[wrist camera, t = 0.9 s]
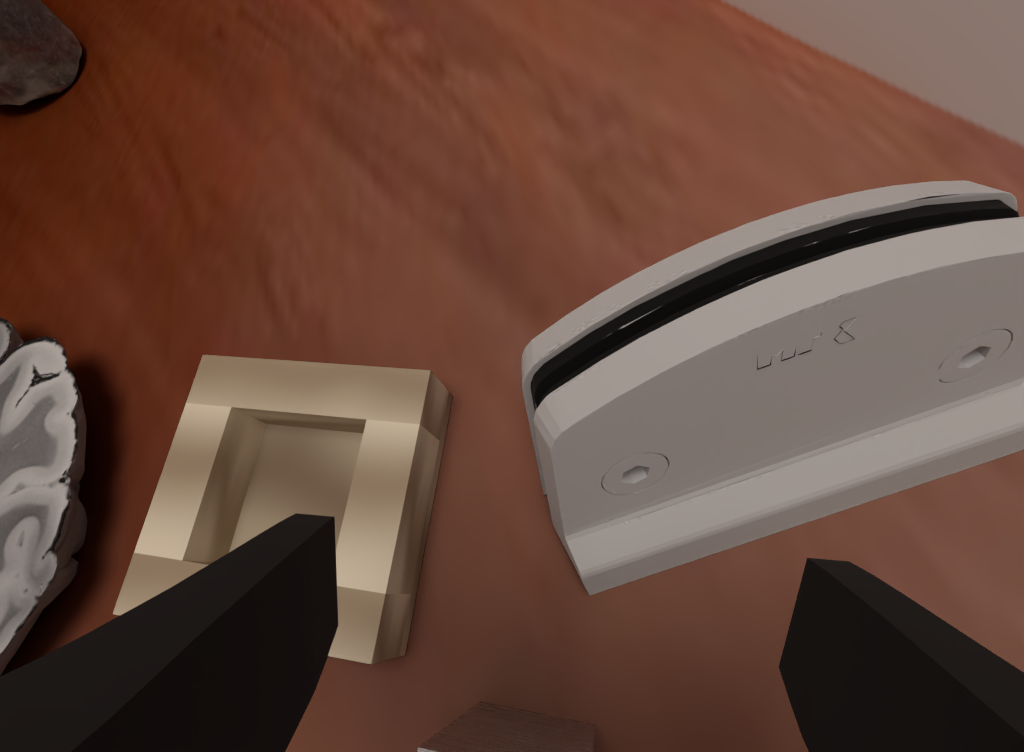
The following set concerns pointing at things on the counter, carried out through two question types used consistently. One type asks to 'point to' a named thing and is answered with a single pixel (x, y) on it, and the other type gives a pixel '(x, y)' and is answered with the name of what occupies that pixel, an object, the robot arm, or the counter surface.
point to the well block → (303, 483)
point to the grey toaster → (781, 376)
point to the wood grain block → (511, 732)
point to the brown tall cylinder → (34, 52)
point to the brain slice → (37, 481)
